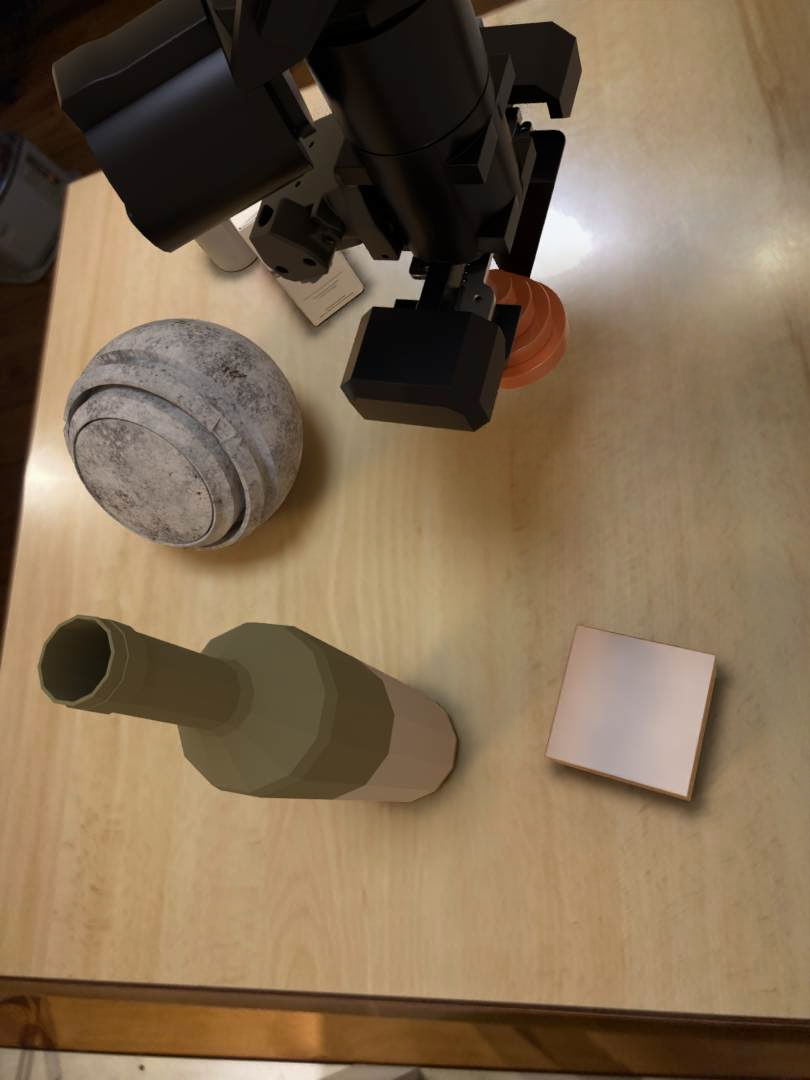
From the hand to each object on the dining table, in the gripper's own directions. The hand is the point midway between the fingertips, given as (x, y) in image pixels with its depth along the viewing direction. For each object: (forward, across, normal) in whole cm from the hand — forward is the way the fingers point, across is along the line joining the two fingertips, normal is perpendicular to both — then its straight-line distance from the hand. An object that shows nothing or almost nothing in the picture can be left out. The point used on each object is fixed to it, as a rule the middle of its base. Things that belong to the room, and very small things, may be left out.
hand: (508, 323), depth 44 cm
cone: (+2, 0, 0) cm, 2 cm away
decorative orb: (+12, +7, -21) cm, 25 cm away
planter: (+12, -12, -29) cm, 34 cm away
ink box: (+12, -10, -21) cm, 26 cm away
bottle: (+12, +22, -3) cm, 25 cm away
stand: (+12, +17, +9) cm, 23 cm away
